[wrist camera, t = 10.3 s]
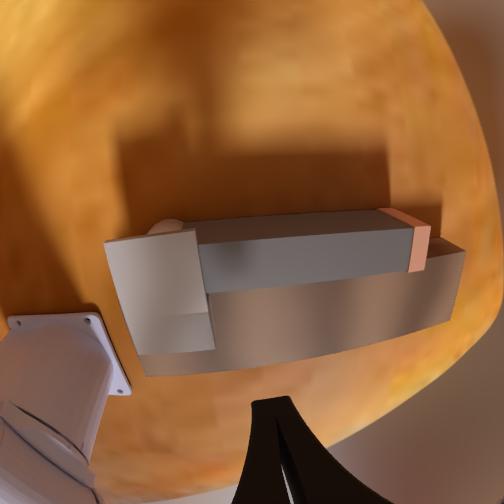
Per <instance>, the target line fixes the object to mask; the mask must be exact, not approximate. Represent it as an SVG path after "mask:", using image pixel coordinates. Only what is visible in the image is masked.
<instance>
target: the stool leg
mask: <svg viewBox="0 0 504 504" xmlns="http://www.w3.org/2000/svg"><path fill="white" fill-rule="evenodd" d="M191 228H196V235H197V241H198V248H199V254H200V261H201V267H202V273H203V279H204V285H205V291H206V293H217V292H229V291H240V290H250V289H260V288H270V287H280V286H289V285H298V284H307V283H316V282H324V281H332V280H340V279H348V278H356V277H363V276H371V275H378V274H385V273H392V272H399V271H407V272H408V273H409V272H415V271H422V270H424V268H425V262H426V257H427V251H428V244H429V237H430V230H431V226H430V225H428V224H426V223H424V222H422V221H420V220H418V219H416V218H414V217H412V216H410V215H407V214H405V213H403V212H401V211H399V210H397V209H394V208H377V210H358V211H336V212H317V213H299V214H283V215H269V216H255V217H241V218H229V219H217V220H205V221H194V222H182V221H180V220H177V219H164V220H161V221H159V222H157V223H156V224H155V225H153V226H152V228H151V229H150V230H149V232H148V233H147V234H154V233H161V232H168V231H176V230H183V229H191Z"/></svg>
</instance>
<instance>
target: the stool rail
mask: <svg viewBox="0 0 504 504" xmlns="http://www.w3.org/2000/svg"><path fill="white" fill-rule="evenodd" d="M103 244H104V248H105V252H106V256H107V260H108V263H109V267H110V271H111V274H112V278H113V281H114V285H115V288H116V291H117V295H118V298H119V299H118V302H119V305H120V308H121V311H122V314H123V317H124V320H125V323H126V326H127V329H128V331H129V334H130V337H131V340H132V342H133V345H134V348H135V350H136V353H137V355H138V358H139V360H140V363H141V365H142V368H143V370H144V373H145V375H146V377H153V376H173V375H188V374H201V373H212V372H222V371H231V370H239V369H247V368H254V367H261V366H268V365H274V364H281V363H286V362H292V361H298V360H303V359H309V358H314V357H319V356H323V355H328V354H333V353H337V352H342V351H346V350H350V349H355V348H359V347H363V346H367V345H371V344H375V343H378V342H382V341H386V340H389V339H393V338H396V337H400V336H403V335H407V334H410V333H413V332H416V331H419V330H423V329H426V328H429V327H432V326H435V325H438V324H441V323H444V322H446V321H449V320H450V318H451V314H452V311H453V307H454V303H455V300H456V296H457V292H458V287H459V283H460V279H461V274H462V269H463V264H464V259H465V253H466V251H465V250H463V249H461V248H460V247H458V246H456V245H454V244H452V243H451V242H449V241H447V240H445V239H443V238H441V237H438V238H431V239H429V244H428V251H427V257H426V262H425V268H424V270H422V271H415V272H409V273H408V272H407V271H399V272H392V273H385V274H378V275H371V276H363V277H356V278H348V279H340V280H332V281H324V282H316V283H307V284H298V285H289V286H280V287H270V288H260V289H250V290H240V291H229V292H217V293H206V291H205V285H204V279H203V273H202V267H201V261H200V254H199V248H198V241H197V235H196V228H191V229H183V230H176V231H168V232H161V233H154V234H146V235H139V236H132V237H125V238H119V239H112V240H106V241H105V242H104V243H103Z"/></svg>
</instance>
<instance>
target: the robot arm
mask: <svg viewBox="0 0 504 504" xmlns="http://www.w3.org/2000/svg"><path fill="white" fill-rule="evenodd" d="M87 318H88V319H90V321H88V320H87ZM7 322H8V325H9V327H10V329H11V330H10V331H9V332H8V333H7V335H6V336H5V337H4V338H3V340H2V341H1V342H0V504H105V502H104V500H103V498H102V496H101V495H100V493H99V492H98V491H97V490H96V489H95V488H94V487H93V486H94V481H95V476H96V475H95V473H93V472H92V471H91V470H90V469H89V468H88V465H89V462H90V457H91V453H92V450H93V446H94V442H95V438H96V434H97V431H98V427H99V424H100V420H101V417H102V413H103V410H104V407H105V403H106V400H107V397H108V395H130V394H131V393H132V388H131V386H130V384H129V382H128V380H127V378H126V376H125V373H124V371H123V369H122V367H121V365H120V362H119V360H118V358H117V356H116V353H115V351H114V349H113V346H112V344H111V341H110V339H109V336H108V334H107V331H106V329H105V326H104V324H103V321H102V318H101V316H100V315H99V314H98V313H96V312H84V313H67V314H46V315H18V316H9V317H8V319H7ZM251 406H252V424H251V433H250V439H249V445H248V451H247V456H246V460H245V463H244V467H243V471H242V475H241V478H240V481H239V484H238V487H237V490H236V493H235V496H234V498H233V501H232V503H231V504H291V503H290V500H289V496H288V493H287V488H286V485H285V480H284V476H283V472H282V468H283V471H284V474H285V476H286V480H287V483H288V486H289V489H290V492H291V494H292V498H293V501H294V504H394V503H392V502H390V501H388V500H387V499H385V498H383V497H382V496H380V495H379V494H377V493H376V492H374V491H373V490H371V489H370V488H368V487H367V486H366V485H364V484H363V483H362V482H361V481H359V480H358V479H357V478H356V477H354V476H353V475H352V474H351V473H349V471H347V470H346V469H345V468H344V467H343V466H342V465H341V464H340V463H339V462H338V461H337V460H336V459H335V458H334V457H333V456H332V455H331V454H330V453H329V452H328V451H327V450H326V448H325V447H324V446H323V445H322V444H321V443H320V441H319V440H318V439H317V438H316V436H315V435H314V434H313V433H312V431H311V430H310V429H309V427H308V426H307V425H306V423H305V422H304V420H303V419H302V417H301V416H300V414H299V412H298V411H297V409H296V407H295V406H294V404H293V402H292V400H291V398H290V397H289V396H281V397H275V398H269V399H262V400H255V401H253V402H252V403H251ZM281 464H282V466H281ZM494 504H504V496H502V497H501V498H500V499H499V500H497V501H496V502H495V503H494Z"/></svg>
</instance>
